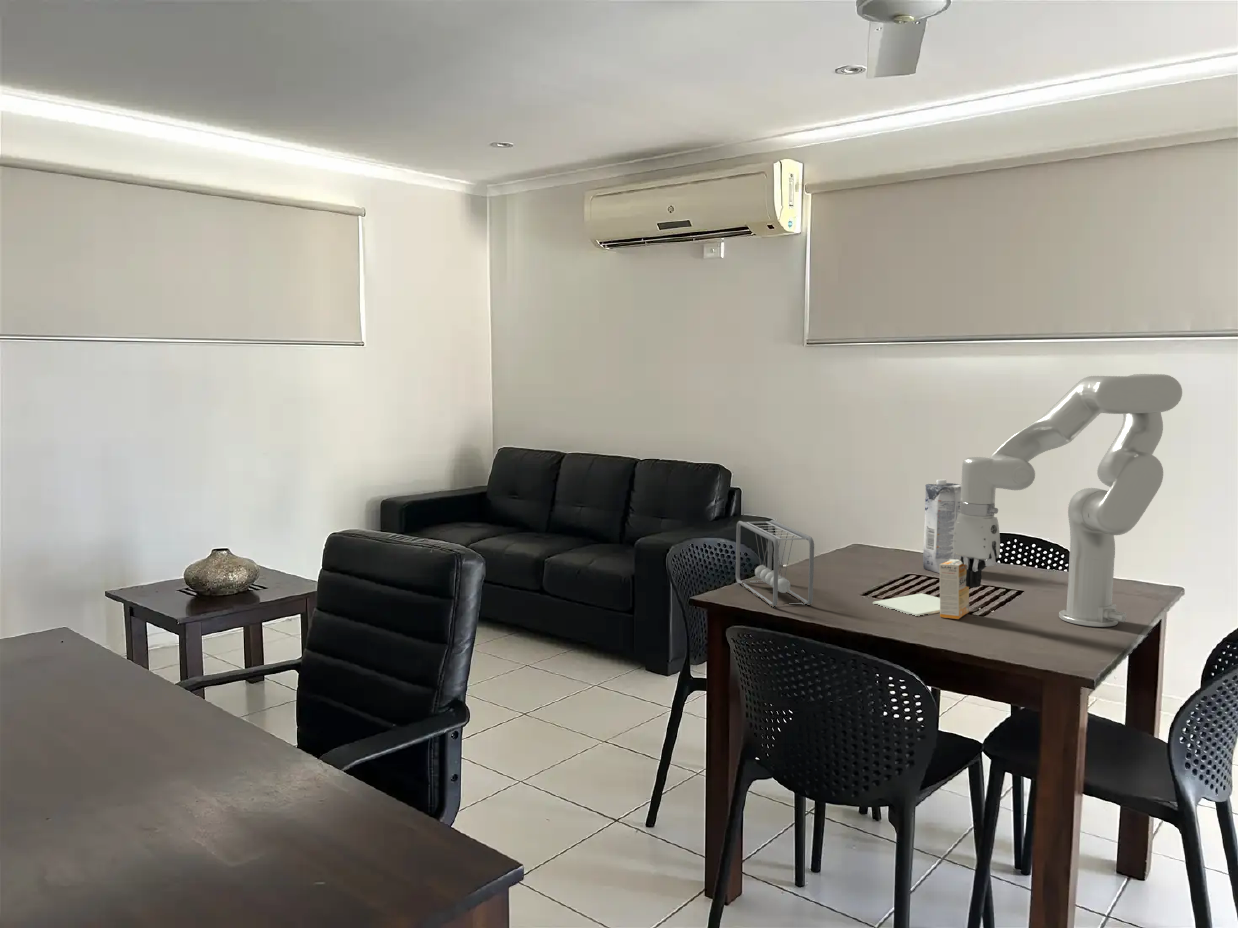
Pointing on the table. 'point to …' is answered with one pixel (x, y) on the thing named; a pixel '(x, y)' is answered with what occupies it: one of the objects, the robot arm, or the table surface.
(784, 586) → the newton's cradle
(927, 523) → the juice carton
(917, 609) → the mat
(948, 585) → the supplement box
